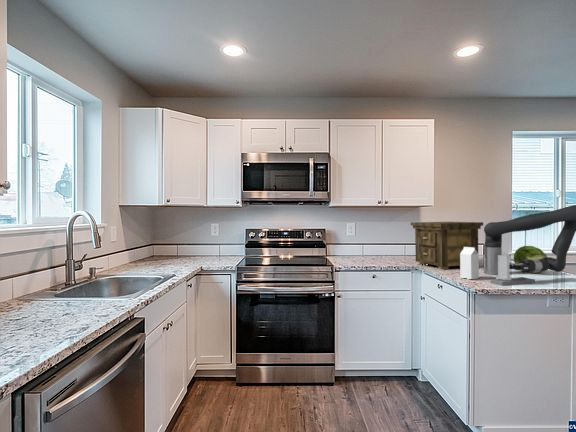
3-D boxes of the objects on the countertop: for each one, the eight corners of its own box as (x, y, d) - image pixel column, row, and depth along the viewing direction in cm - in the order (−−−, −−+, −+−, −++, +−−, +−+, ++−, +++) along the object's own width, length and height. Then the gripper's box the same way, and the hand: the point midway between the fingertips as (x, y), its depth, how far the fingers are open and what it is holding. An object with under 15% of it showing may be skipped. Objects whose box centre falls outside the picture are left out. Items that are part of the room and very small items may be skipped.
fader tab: (505, 280, 186) (505, 256, 186) (496, 278, 192) (496, 255, 192) (511, 280, 187) (511, 256, 187) (502, 278, 193) (501, 254, 193)
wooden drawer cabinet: (483, 268, 242) (483, 222, 242) (441, 271, 233) (440, 223, 233) (449, 261, 276) (448, 221, 276) (411, 264, 267) (410, 222, 267)
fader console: (502, 285, 184) (502, 281, 184) (490, 282, 192) (490, 279, 192) (535, 283, 189) (535, 279, 189) (522, 280, 197) (522, 276, 197)
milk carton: (471, 280, 200) (470, 247, 200) (460, 278, 206) (459, 247, 206) (478, 279, 203) (478, 247, 203) (467, 277, 210) (467, 246, 210)
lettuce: (524, 275, 213) (532, 249, 210) (506, 264, 236) (513, 240, 233) (553, 281, 211) (562, 255, 208) (532, 269, 234) (540, 245, 231)
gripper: (519, 257, 200) (495, 259, 196) (541, 260, 187) (515, 262, 183) (520, 270, 200) (495, 272, 196) (541, 274, 187) (515, 276, 183)
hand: (504, 267), depth 189 cm, fingers closed
